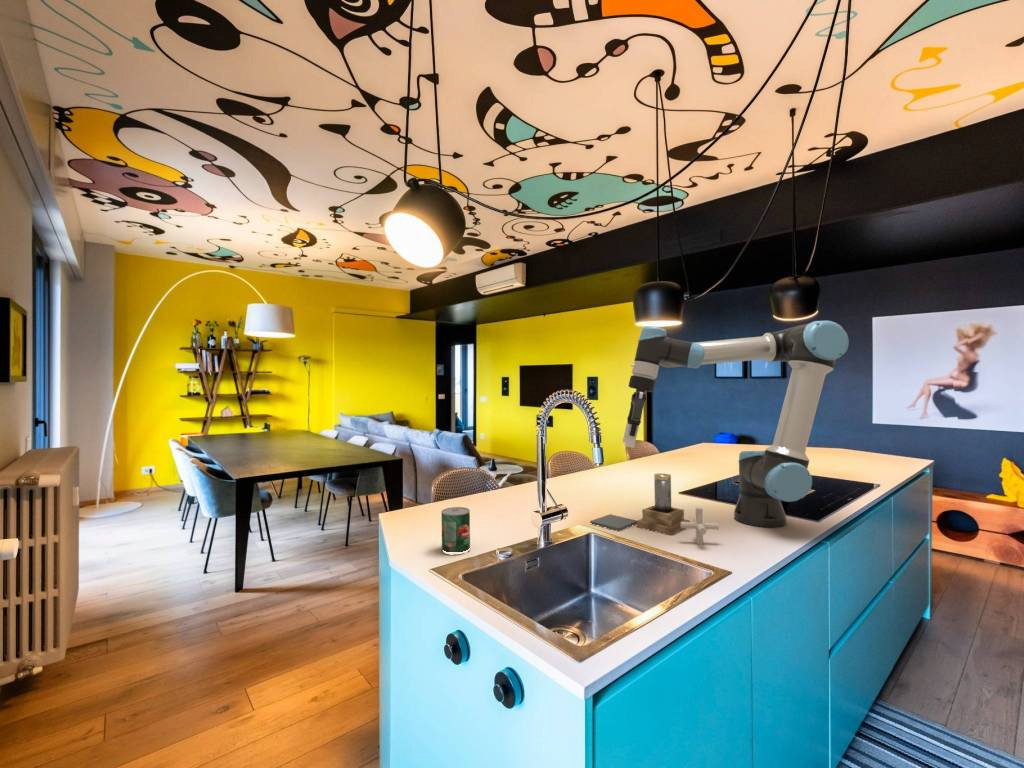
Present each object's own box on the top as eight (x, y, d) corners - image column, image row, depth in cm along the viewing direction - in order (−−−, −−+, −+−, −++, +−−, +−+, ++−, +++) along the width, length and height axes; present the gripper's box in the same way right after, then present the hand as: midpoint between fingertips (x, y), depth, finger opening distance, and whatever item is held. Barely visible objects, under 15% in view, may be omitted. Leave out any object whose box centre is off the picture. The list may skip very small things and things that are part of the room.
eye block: (690, 526, 147) (690, 509, 147) (671, 535, 139) (671, 517, 139) (655, 519, 156) (655, 502, 156) (636, 527, 148) (636, 509, 148)
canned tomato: (471, 554, 126) (470, 513, 126) (441, 556, 124) (441, 515, 124) (469, 544, 133) (468, 506, 134) (441, 546, 132) (441, 507, 132)
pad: (638, 523, 151) (638, 520, 151) (618, 531, 144) (618, 528, 144) (609, 517, 159) (609, 514, 159) (590, 524, 152) (590, 520, 152)
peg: (674, 520, 147) (673, 474, 147) (666, 523, 144) (665, 477, 144) (660, 517, 151) (659, 472, 151) (652, 520, 148) (651, 475, 148)
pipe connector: (722, 550, 126) (722, 513, 126) (683, 548, 128) (683, 512, 128) (714, 538, 136) (713, 504, 136) (678, 536, 138) (677, 503, 138)
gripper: (628, 376, 155) (614, 438, 155) (633, 372, 130) (616, 445, 131) (651, 381, 153) (637, 444, 154) (660, 377, 129) (643, 452, 129)
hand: (627, 445), depth 142 cm, fingers open, 13 cm apart
